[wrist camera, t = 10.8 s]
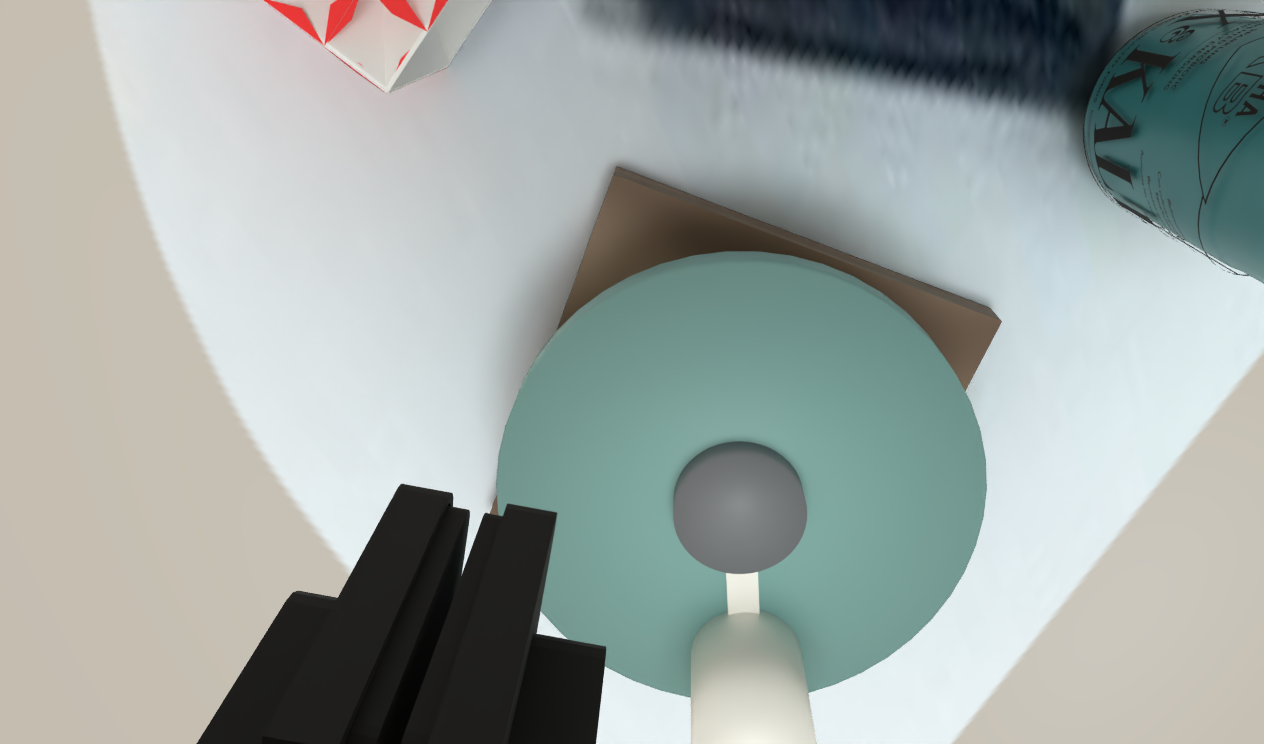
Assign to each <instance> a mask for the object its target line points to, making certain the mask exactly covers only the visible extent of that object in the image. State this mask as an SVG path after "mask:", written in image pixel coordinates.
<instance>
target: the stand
mask: <svg viewBox="0 0 1264 744" xmlns="http://www.w3.org/2000/svg"><path fill="white" fill-rule="evenodd" d="M725 251H754V252H767V253H774V254H782V255H790V256H795V257H798V258H802V259H806V260H810V261H814V262H817V263H821V264H824V265H827V266H829V267H832V268H834V269H837V270H839V271H842V272H844V273H846V274H849V275H851V276H854V277H855V278H857V279H859V280H861V281H862V282H864V283H866V284H868V285H869V286H871V287H873V288H875V289H876V290H878V291H880V292H881V293H883V294H884V295H885V296H887V297H888V298H889V299H890V300H892V301H893V302H894V303H896V304H897V305H898V306H899V307H901V308H902V309H903V310H905V311H906V312H907V313H908V314H909V315H910V316H911V317H912V318H913V319H914V320H915V321H916V322H917V323H918V324H919V325H920V326H921V328H922V329H923V330H924V331H925V332H926V333H927V334H928V335H929V336H930V338H931V339H932V341H933V342H934V343H935V345H936V346H937V348H938V349H939V350H940V352H941V353H942V354H943V356H944V357H945V359H946V360H947V362H948V363H949V365H950V366H951V368H952V369H953V371H954V372H955V374H956V375H957V377H958V379H959V381H960V383H961V385H962V387H963V389H964V391H966V389H967V387H968V385H969V383H970V381H971V379H972V377H973V375H974V374H975V372H976V370H977V368H978V366H979V364H980V362H981V360H982V358H983V356H984V355H985V353H986V351H987V349H988V347H989V345H990V343H991V341H992V339H993V337H994V335H995V334H996V332H997V330H998V328H999V326H1000V324H1001V322H1002V321H1001V320H1000V319H999V318H998V316H997V315H996V314H995V313H994V312H993V311H992V310H991V308H989V307H986V306H983V305H981V304H978V303H975V302H973V301H970V300H967V299H965V298H962V297H959V296H957V295H954V294H952V293H949V292H946V291H944V290H941V289H938V288H936V287H933V286H930V285H928V284H925V283H923V282H920V281H917V280H915V279H912V278H909V277H907V276H904V275H901V274H899V273H896V272H894V271H891V270H888V269H886V268H883V267H880V266H878V265H875V264H872V263H870V262H867V261H865V260H862V259H859V258H857V257H854V256H851V255H849V254H846V253H843V252H841V251H838V250H835V249H833V248H830V247H828V246H825V245H822V244H820V243H817V242H814V241H812V240H809V239H806V238H804V237H801V236H799V235H796V234H793V233H791V232H788V231H785V230H783V229H780V228H777V227H775V226H772V225H770V224H767V223H764V222H762V221H759V220H756V219H754V218H751V217H748V216H746V215H743V214H741V213H738V212H735V211H733V210H730V209H727V208H725V207H722V206H719V205H717V204H714V203H712V202H709V201H706V200H704V199H701V198H698V197H696V196H693V195H690V194H688V193H685V192H682V191H680V190H677V189H675V188H672V187H669V186H667V185H664V184H661V183H659V182H656V181H653V180H651V179H648V178H646V177H643V176H640V175H638V174H635V173H632V172H630V171H627V170H624V169H622V168H619V167H617V166H616V169H615V172H614V175H613V177H612V180H611V183H610V186H609V188H608V191H607V194H606V197H605V199H604V202H603V205H602V208H601V210H600V213H599V216H598V218H597V221H596V224H595V227H594V229H593V232H592V235H591V238H590V240H589V243H588V246H587V249H586V251H585V254H584V257H583V260H582V262H581V265H580V268H579V271H578V273H577V276H576V279H575V282H574V284H573V287H572V290H571V293H570V295H569V298H568V301H567V304H566V306H565V309H564V312H563V315H562V317H561V320H560V323H559V326H558V328H557V330H558V329H559V328H560V327H561V326H562V325H563V324H564V323H565V322H566V321H567V320H568V319H569V318H570V317H572V316H573V315H574V314H575V313H576V312H577V311H578V310H579V309H580V308H582V307H583V306H584V305H586V304H587V303H588V302H590V301H591V300H592V299H594V298H595V297H596V296H598V295H599V294H600V293H602V292H603V291H605V290H607V289H608V288H610V287H612V286H614V285H615V284H617V283H619V282H621V281H623V280H624V279H626V278H628V277H630V276H632V275H634V274H637V273H639V272H642V271H644V270H647V269H649V268H652V267H654V266H657V265H659V264H662V263H666V262H670V261H674V260H678V259H682V258H686V257H689V256H694V255H702V254H710V253H718V252H725ZM490 514H494V515H499V514H498V503H497V496H496V498H495V501H494V504H493V507H492V509H491V512H490Z"/></svg>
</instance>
